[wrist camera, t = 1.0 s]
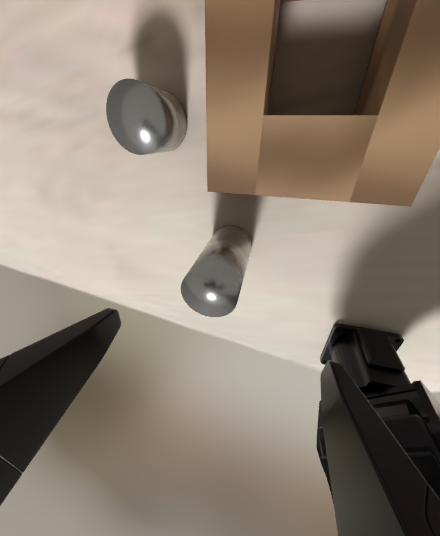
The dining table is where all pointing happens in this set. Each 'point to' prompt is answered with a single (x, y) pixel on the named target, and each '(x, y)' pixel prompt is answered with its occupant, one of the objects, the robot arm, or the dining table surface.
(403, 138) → the hole block
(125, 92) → the short pin
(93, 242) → the dining table surface
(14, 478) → the robot arm
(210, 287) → the tall pin
